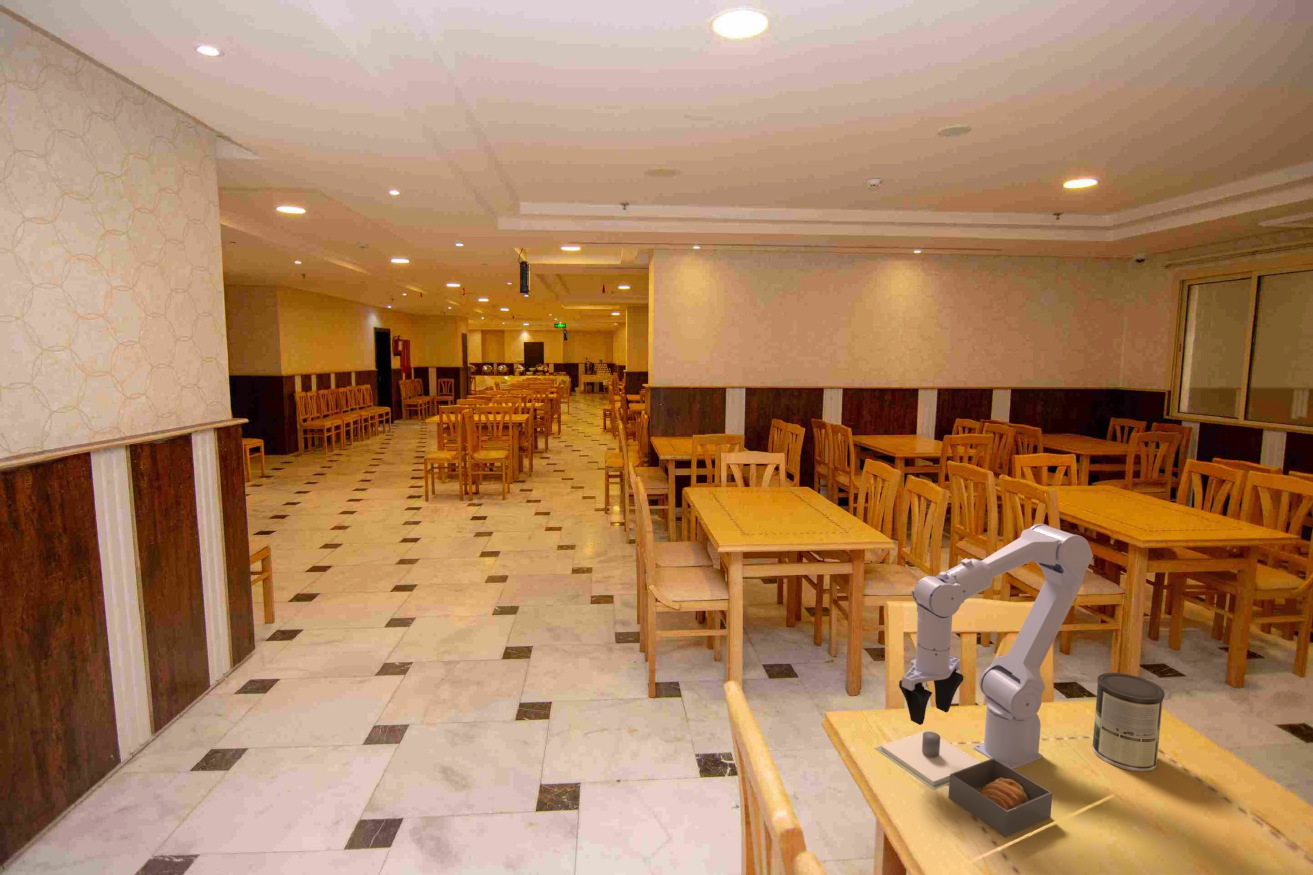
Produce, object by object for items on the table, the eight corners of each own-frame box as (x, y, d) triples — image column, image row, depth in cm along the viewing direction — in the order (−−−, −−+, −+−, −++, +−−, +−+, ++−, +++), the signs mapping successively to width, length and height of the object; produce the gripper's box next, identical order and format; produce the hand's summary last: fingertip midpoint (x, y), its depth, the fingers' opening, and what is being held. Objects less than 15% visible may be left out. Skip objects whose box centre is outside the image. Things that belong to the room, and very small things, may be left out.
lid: (927, 733, 136) (928, 712, 136) (982, 767, 125) (983, 744, 125) (880, 749, 131) (881, 727, 130) (933, 785, 120) (934, 762, 119)
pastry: (1005, 832, 109) (1007, 810, 109) (964, 810, 114) (965, 789, 114) (1032, 809, 115) (1034, 787, 114) (992, 789, 120) (993, 768, 120)
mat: (927, 732, 137) (927, 730, 137) (988, 770, 125) (989, 768, 125) (874, 750, 131) (874, 748, 131) (933, 791, 119) (933, 789, 119)
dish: (991, 782, 121) (993, 757, 121) (1050, 819, 112) (1052, 792, 111) (948, 799, 117) (949, 774, 116) (1005, 839, 107) (1007, 812, 106)
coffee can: (1079, 741, 135) (1085, 672, 133) (1131, 740, 135) (1137, 671, 133) (1115, 772, 125) (1122, 698, 123) (1171, 772, 125) (1179, 698, 123)
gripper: (937, 628, 131) (934, 695, 133) (888, 646, 123) (885, 717, 125) (972, 640, 125) (968, 711, 127) (923, 660, 117) (919, 735, 119)
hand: (929, 715), depth 126 cm, fingers open, 7 cm apart
